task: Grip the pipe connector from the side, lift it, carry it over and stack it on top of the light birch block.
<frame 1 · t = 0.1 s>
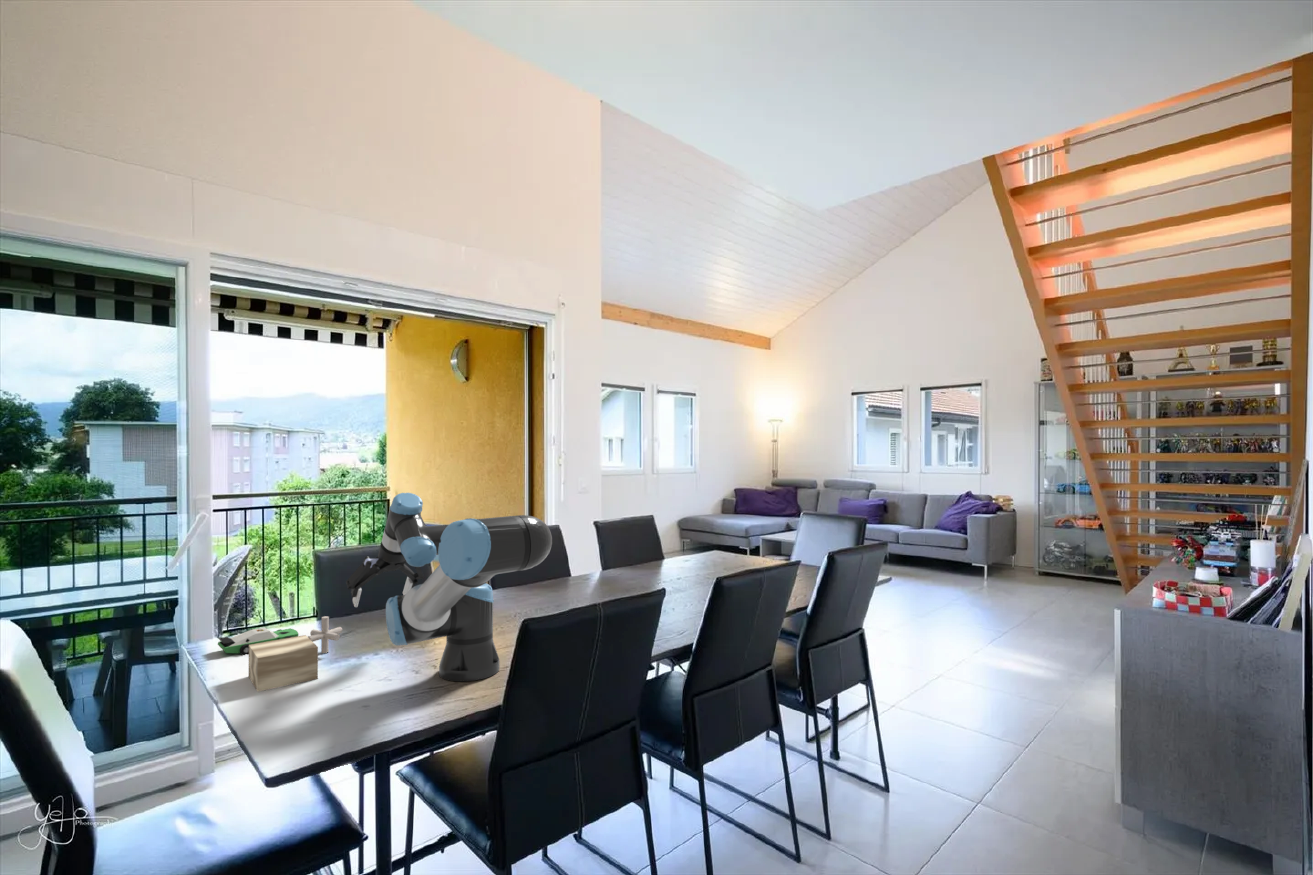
hand: (380, 599, 181), 15 cm above the table, tool tilted 35°, fingers open, 13 cm apart
pipe connector: (324, 653, 182), on the table
birch block: (282, 677, 163), on the table
toy car: (259, 648, 187), on the table
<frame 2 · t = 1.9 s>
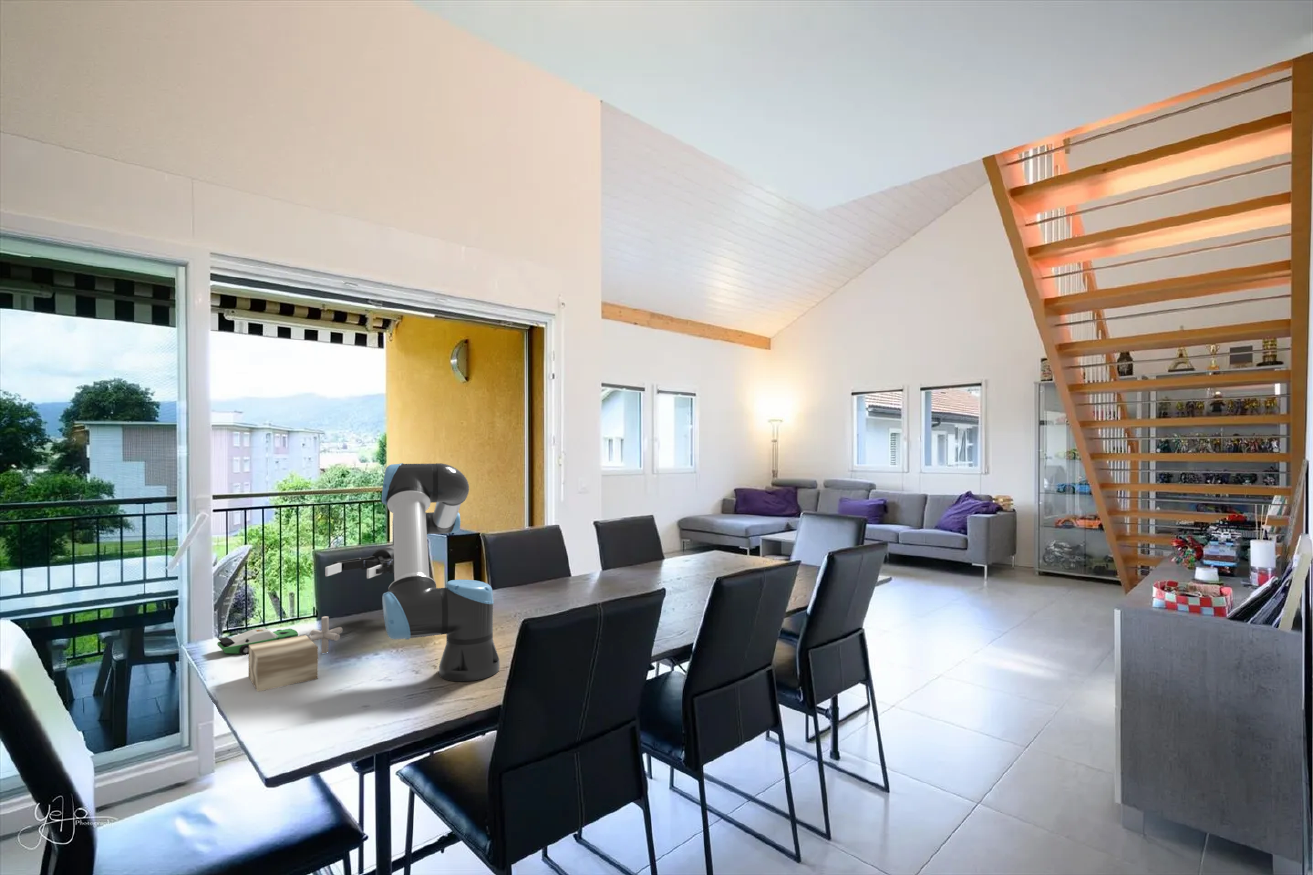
hand: (346, 572, 191), 21 cm above the table, tool horizontal, fingers open, 13 cm apart
nothing on the table moved.
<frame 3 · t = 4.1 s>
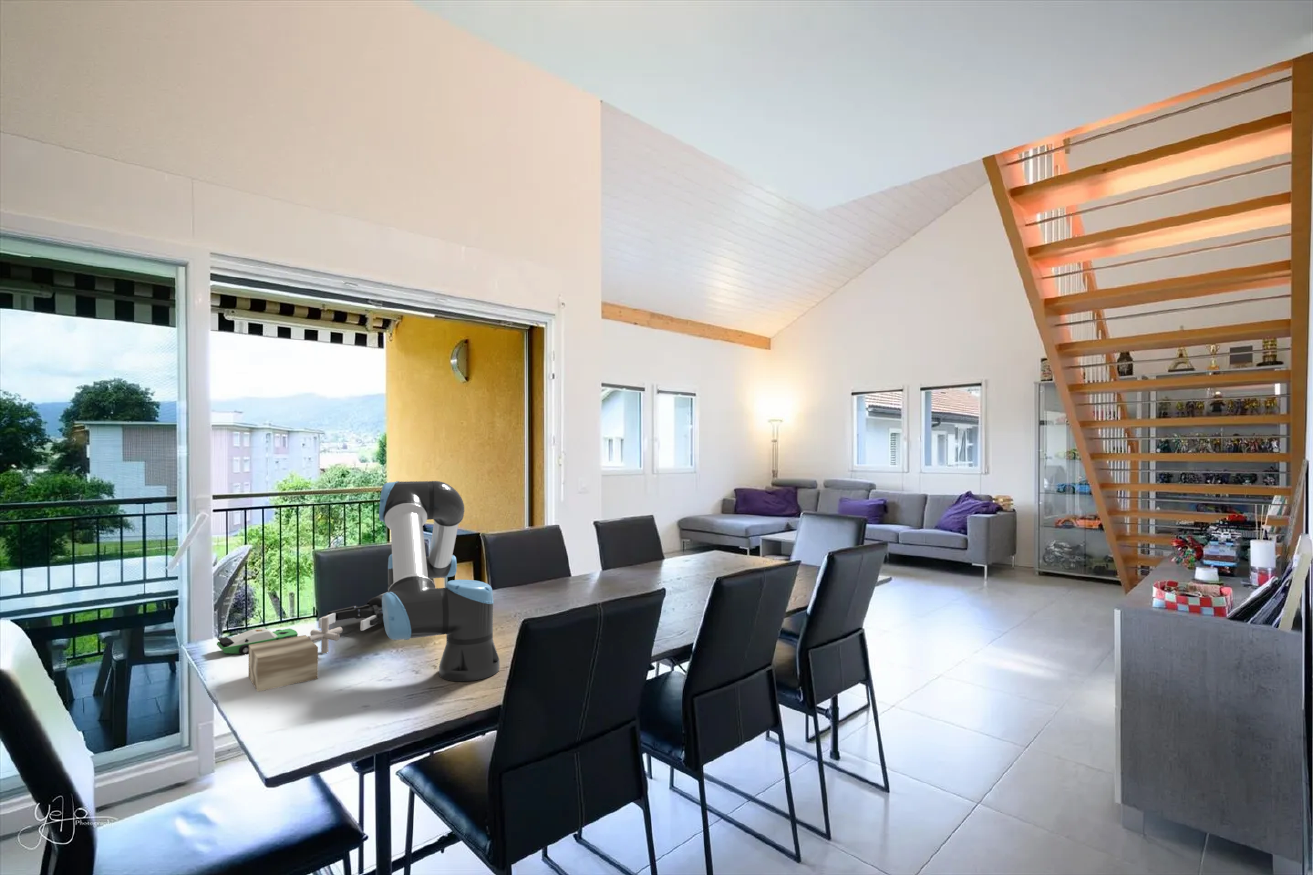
hand: (340, 624, 189), 6 cm above the table, tool horizontal, fingers open, 13 cm apart
nothing on the table moved.
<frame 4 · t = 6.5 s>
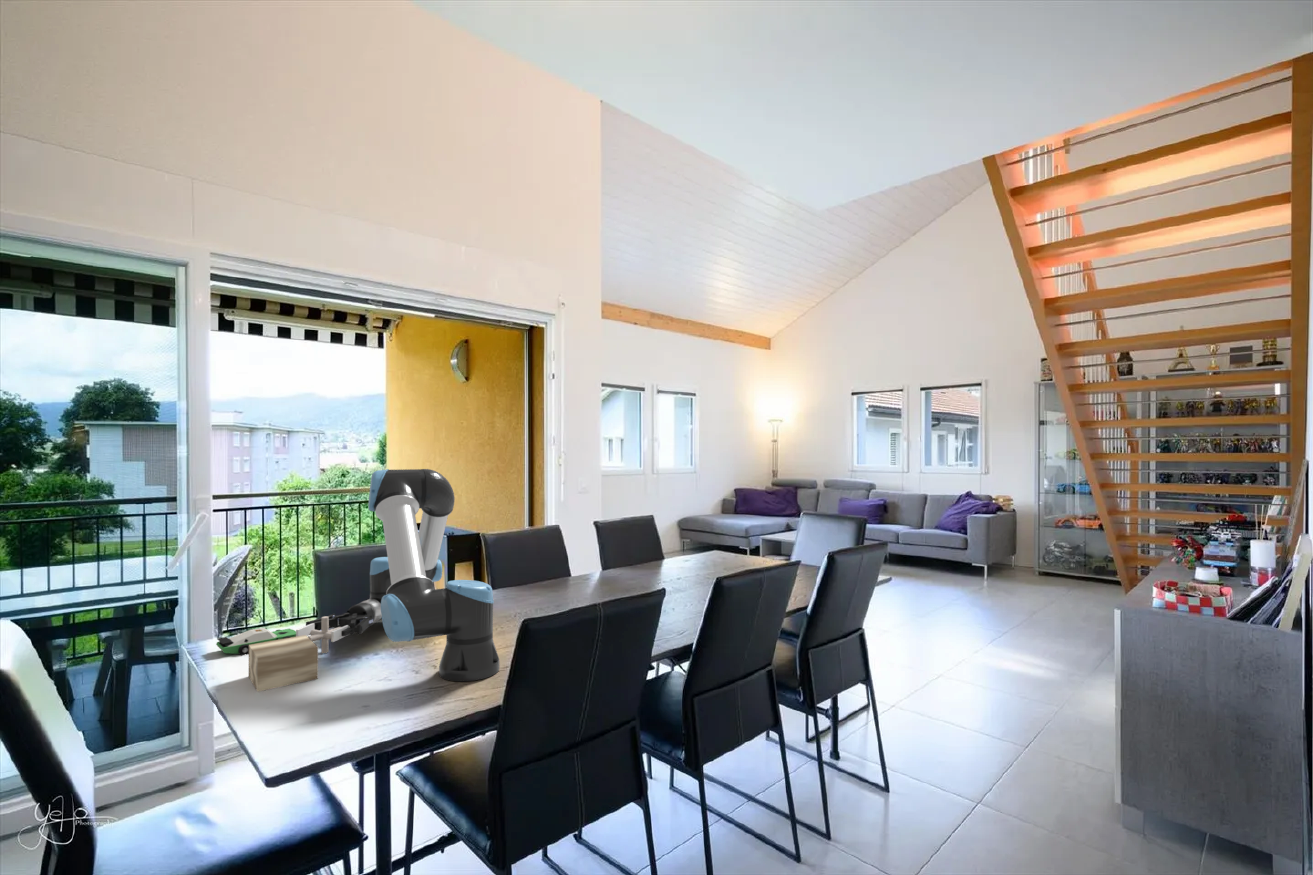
hand: (314, 635, 178), 6 cm above the table, tool horizontal, fingers closed on pipe connector, 10 cm apart
pipe connector: (324, 653, 182), on the table, touching gripper
everything else where it was.
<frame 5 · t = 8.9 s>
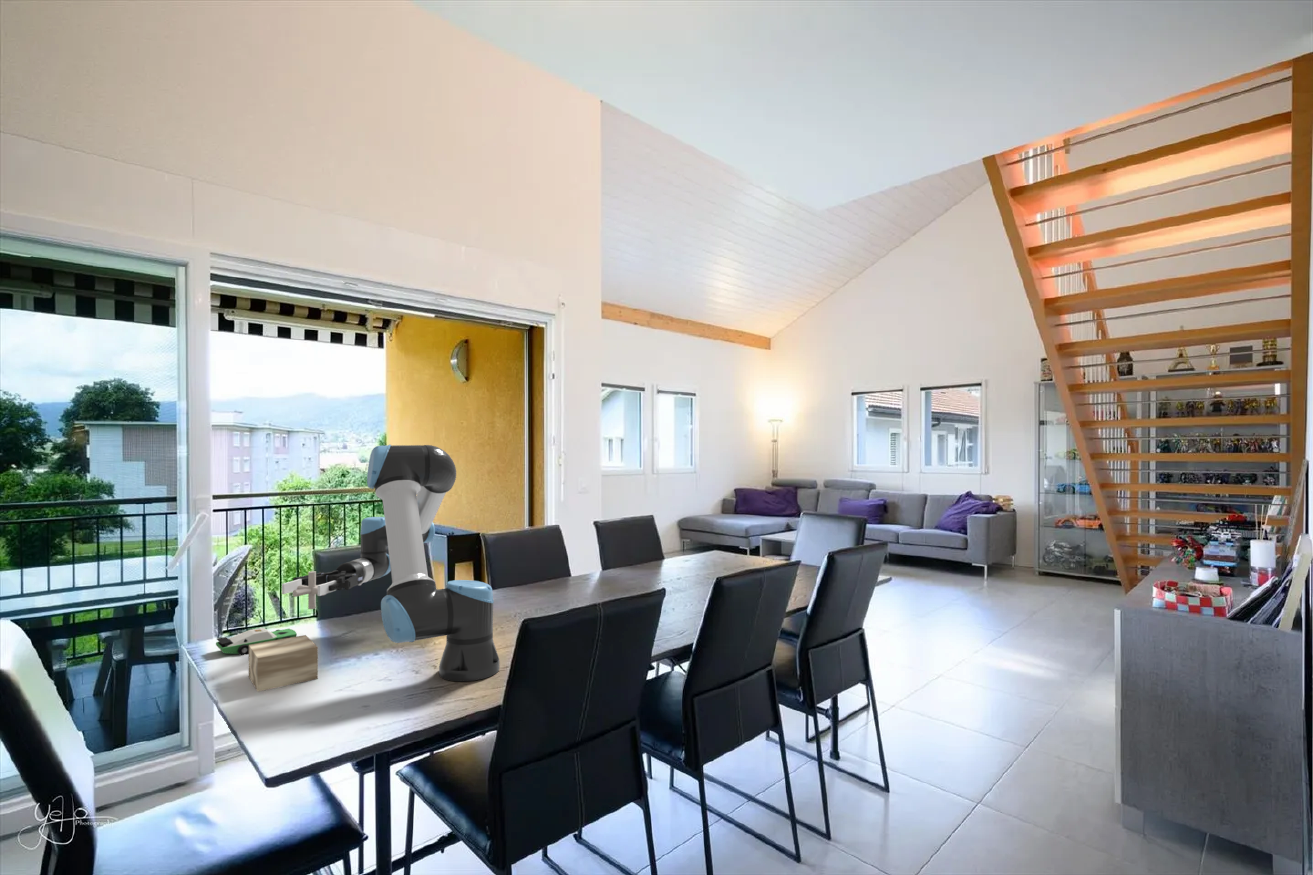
hand: (300, 589, 173), 20 cm above the table, tool horizontal, fingers closed on pipe connector, 10 cm apart
pipe connector: (312, 608, 177), point 14 cm above the table, touching gripper
everything else where it was.
when the fingers open (15 cm above the table, at t = 11.5 s): pipe connector drops 1 cm, resting on birch block.
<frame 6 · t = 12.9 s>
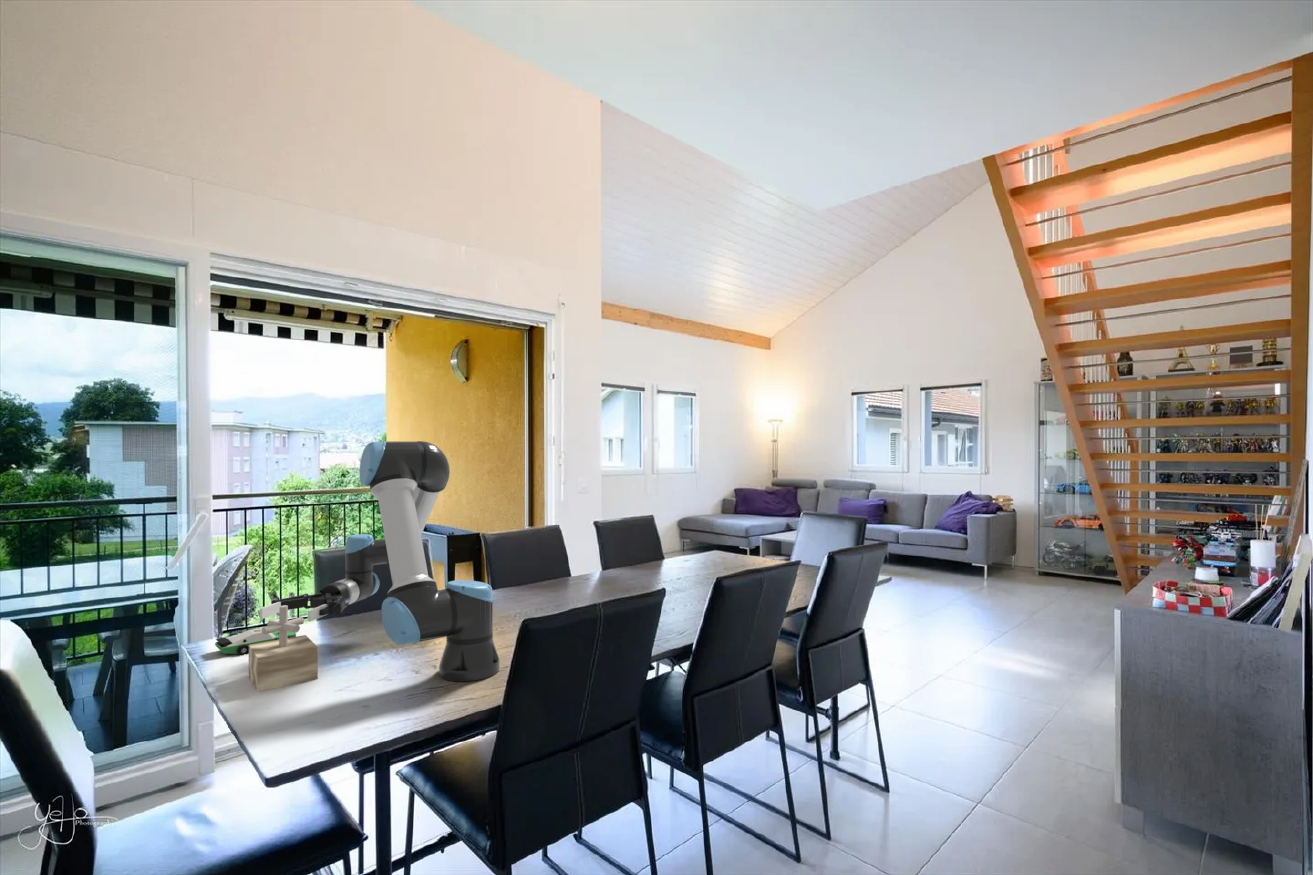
hand: (284, 614, 163), 16 cm above the table, tool horizontal, fingers open, 13 cm apart
pipe connector: (283, 646, 163), point 8 cm above the table, touching birch block
everything else where it was.
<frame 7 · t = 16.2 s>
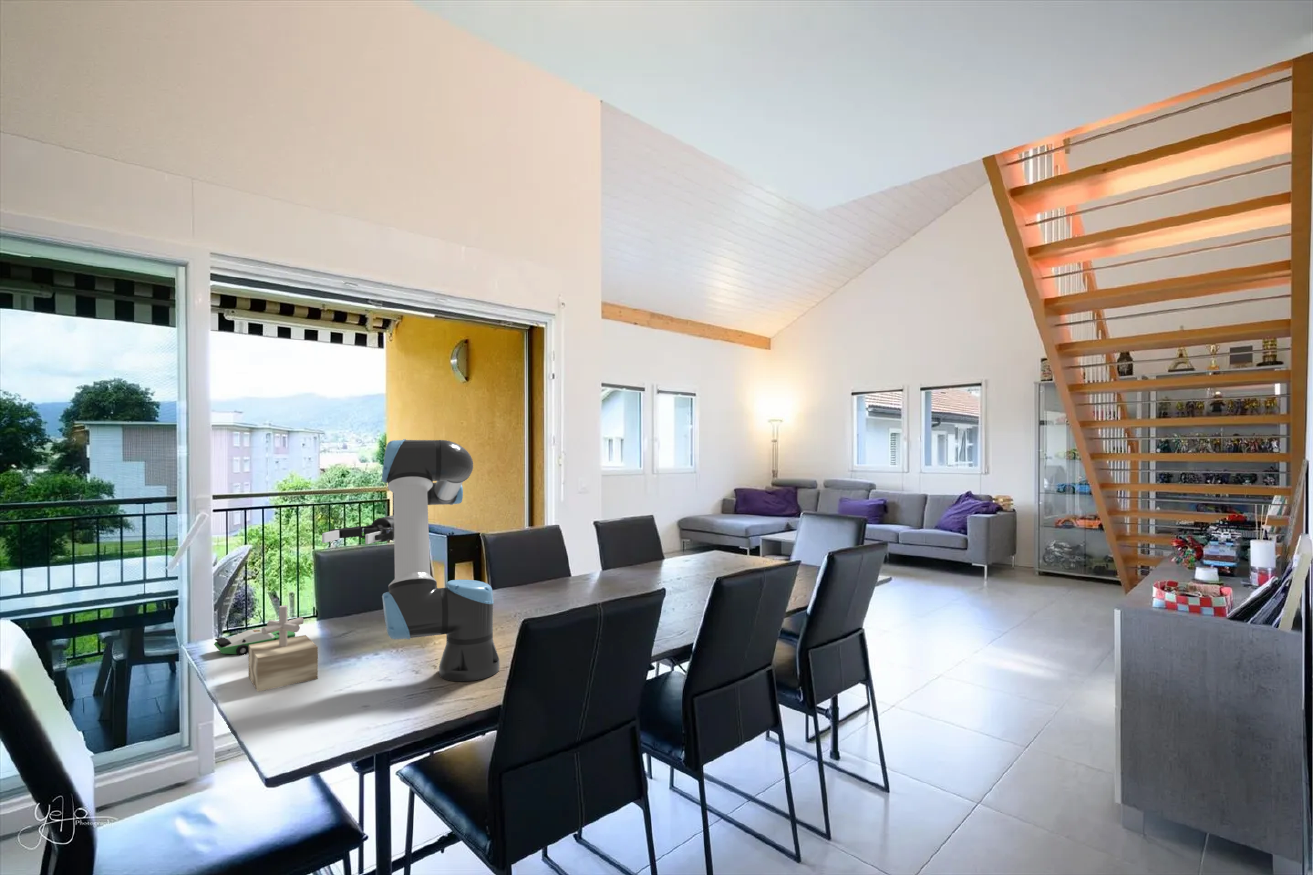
hand: (344, 538, 183), 32 cm above the table, tool horizontal, fingers open, 13 cm apart
nothing on the table moved.
at the end: pipe connector 0.1 cm from the birch block (horizontally); pipe connector point 7.8 cm above the table; the gripper is holding nothing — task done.
